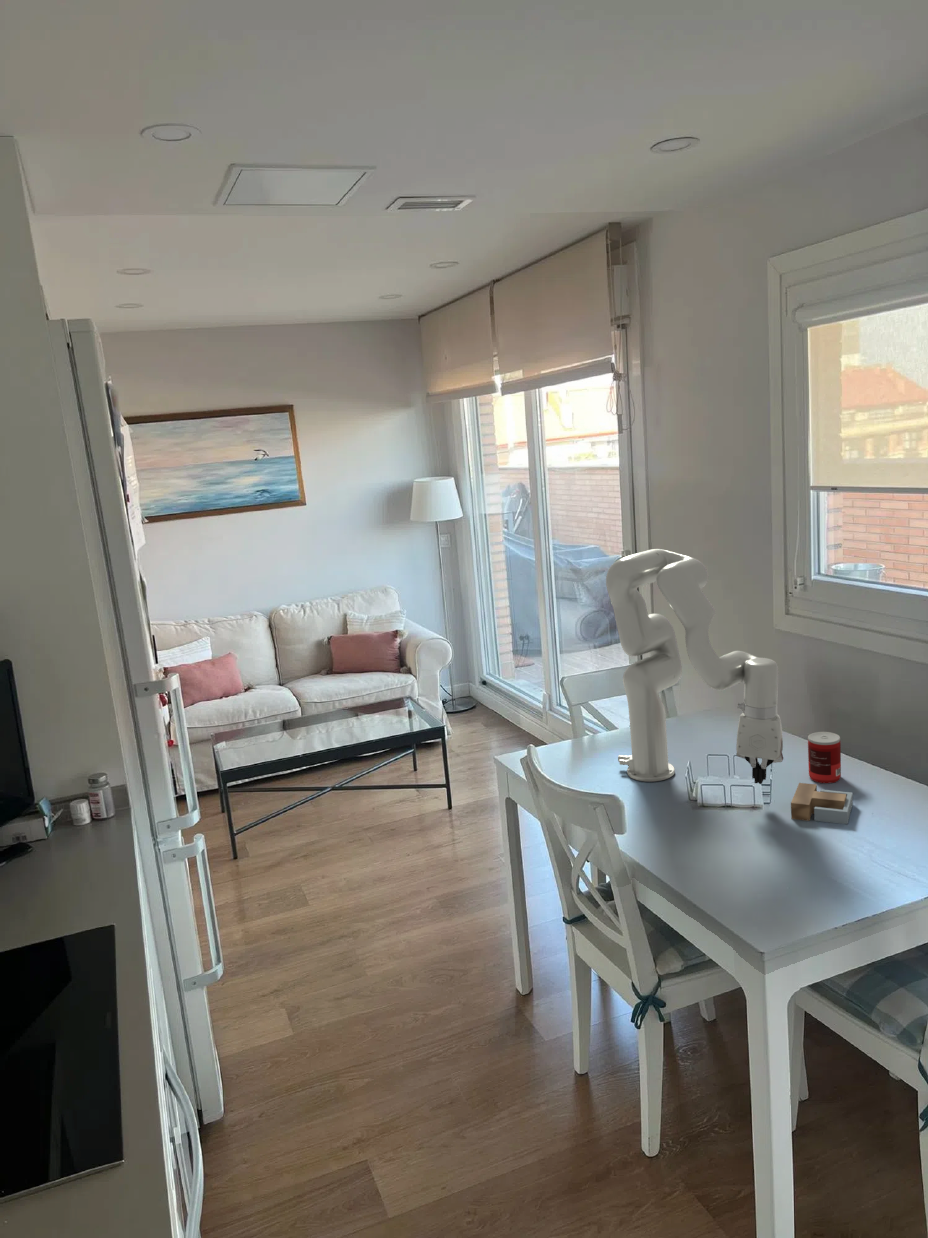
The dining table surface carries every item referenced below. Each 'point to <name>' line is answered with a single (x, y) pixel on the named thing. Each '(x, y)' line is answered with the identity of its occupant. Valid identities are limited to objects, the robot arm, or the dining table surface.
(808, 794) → the t block
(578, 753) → the dining table surface
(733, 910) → the dining table surface
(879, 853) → the dining table surface
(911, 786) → the dining table surface
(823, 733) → the canned food
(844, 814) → the bracket
